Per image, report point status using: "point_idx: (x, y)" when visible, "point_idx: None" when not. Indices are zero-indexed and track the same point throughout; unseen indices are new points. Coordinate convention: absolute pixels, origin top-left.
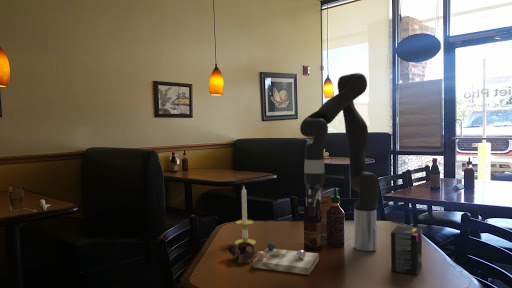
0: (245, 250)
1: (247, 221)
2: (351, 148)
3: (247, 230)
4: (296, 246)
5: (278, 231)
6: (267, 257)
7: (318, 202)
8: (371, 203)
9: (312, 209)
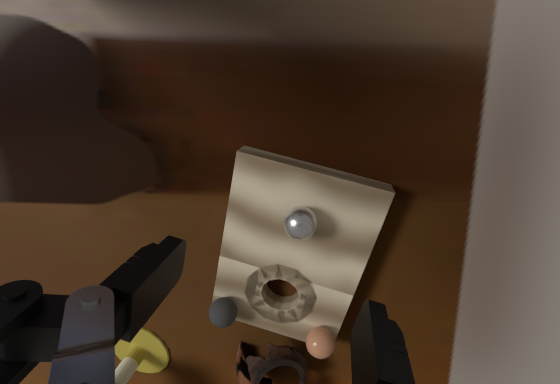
0: (240, 363)
1: None
2: None
3: (115, 378)
4: (130, 216)
5: (10, 266)
6: (297, 313)
7: (134, 304)
8: None
9: (412, 376)
